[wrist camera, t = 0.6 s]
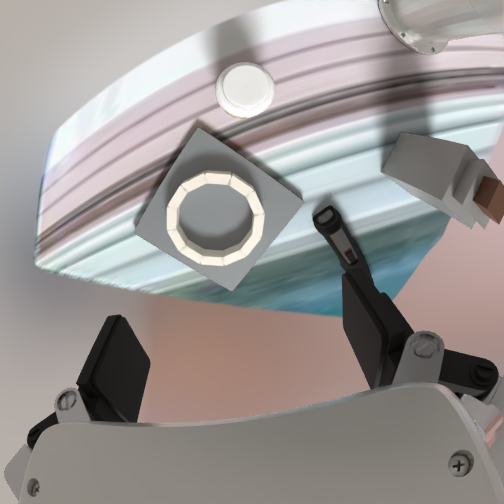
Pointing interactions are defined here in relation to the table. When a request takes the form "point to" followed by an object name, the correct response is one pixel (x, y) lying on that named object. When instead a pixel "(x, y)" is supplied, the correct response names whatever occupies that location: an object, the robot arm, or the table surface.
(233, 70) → the supplement bottle
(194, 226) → the collar
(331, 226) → the electric trimmer
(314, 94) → the table surface
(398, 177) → the perfume bottle
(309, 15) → the table surface
